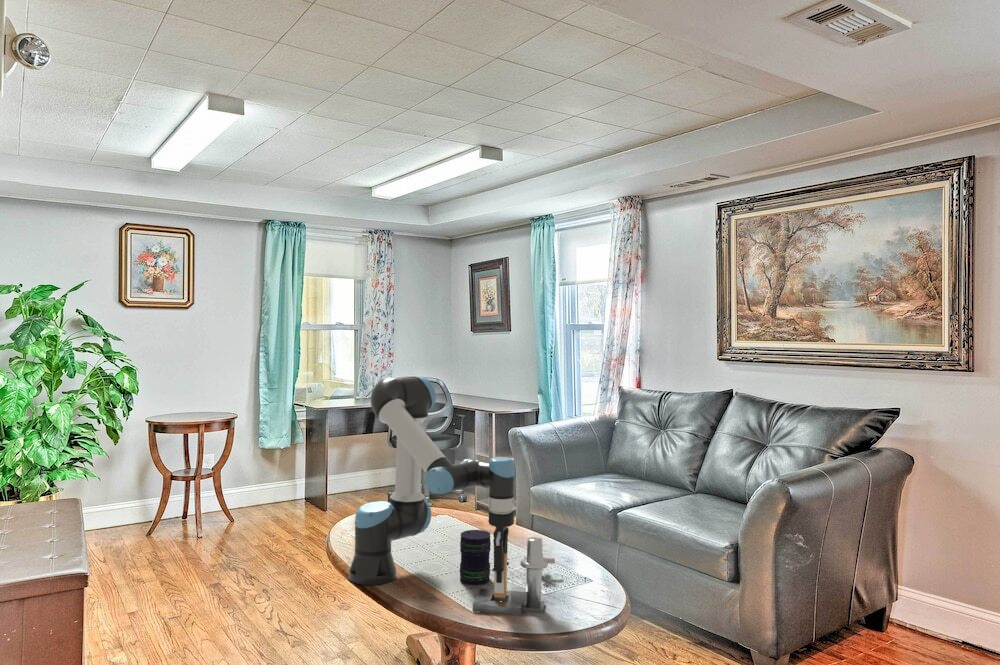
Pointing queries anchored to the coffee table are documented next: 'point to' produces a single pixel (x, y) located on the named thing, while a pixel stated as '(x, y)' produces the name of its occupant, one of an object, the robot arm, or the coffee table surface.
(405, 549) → the coffee table surface
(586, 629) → the coffee table surface
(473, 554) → the storage jar
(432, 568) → the coffee table surface
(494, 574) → the tan rectangular block
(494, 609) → the rosette node
